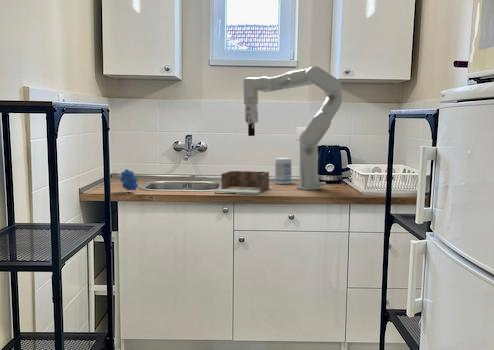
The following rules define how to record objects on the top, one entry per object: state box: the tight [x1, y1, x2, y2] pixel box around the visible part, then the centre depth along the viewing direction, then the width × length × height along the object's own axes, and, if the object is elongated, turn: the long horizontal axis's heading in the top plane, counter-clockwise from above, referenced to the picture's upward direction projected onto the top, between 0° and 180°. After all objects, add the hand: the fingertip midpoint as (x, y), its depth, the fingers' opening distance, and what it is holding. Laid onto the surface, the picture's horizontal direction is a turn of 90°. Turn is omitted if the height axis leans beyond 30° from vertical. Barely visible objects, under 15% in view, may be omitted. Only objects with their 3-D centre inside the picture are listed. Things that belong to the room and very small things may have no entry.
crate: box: [221, 170, 270, 193], centre depth 252 cm, size 22×15×9 cm, turn 73°
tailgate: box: [214, 188, 262, 196], centre depth 240 cm, size 22×1×9 cm
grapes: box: [120, 168, 139, 191], centre depth 244 cm, size 12×7×12 cm, turn 59°
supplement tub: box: [274, 157, 292, 185], centre depth 275 cm, size 10×10×15 cm
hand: (251, 135), depth 253 cm, fingers closed
